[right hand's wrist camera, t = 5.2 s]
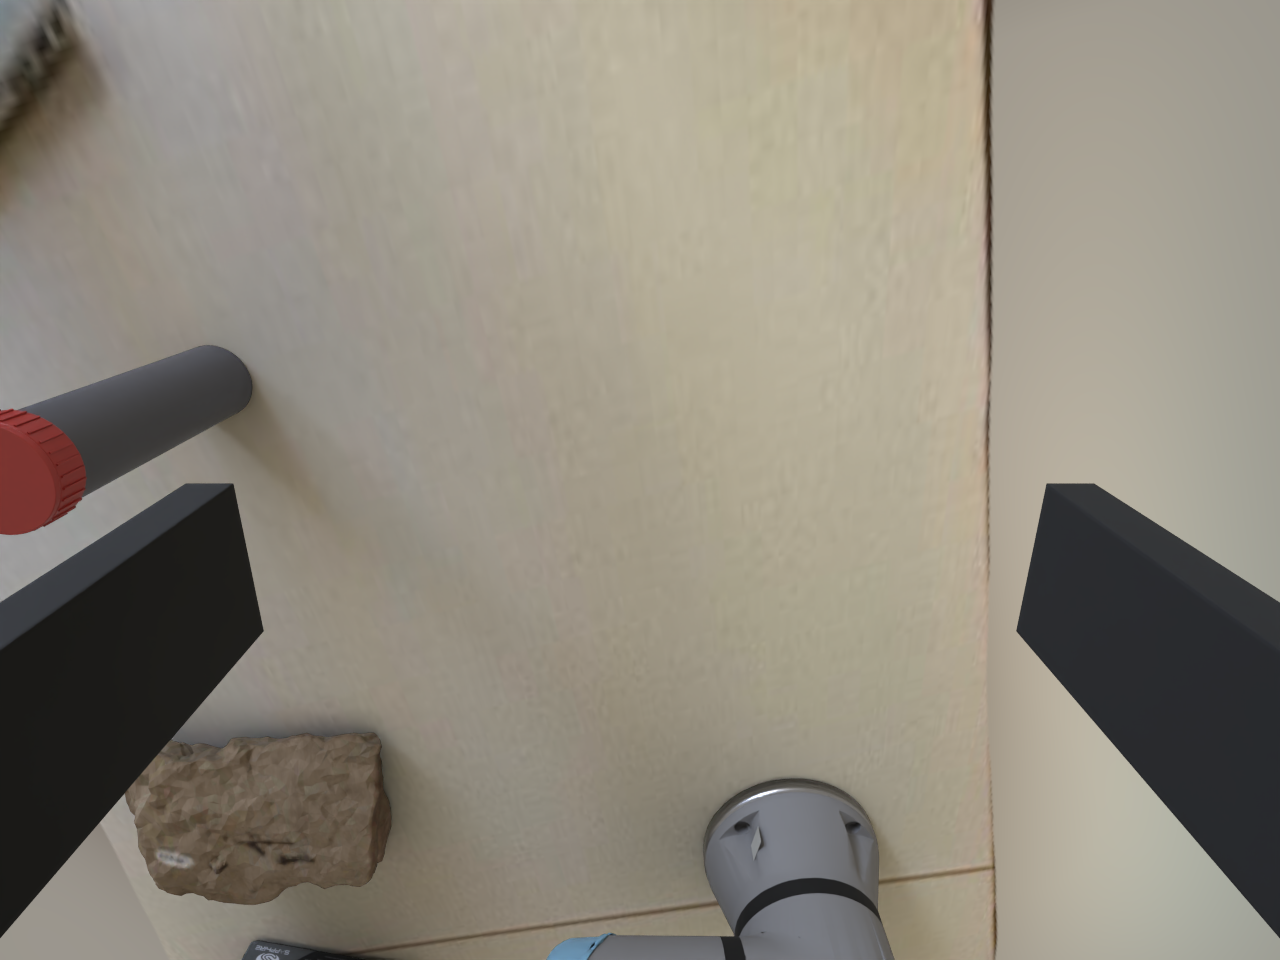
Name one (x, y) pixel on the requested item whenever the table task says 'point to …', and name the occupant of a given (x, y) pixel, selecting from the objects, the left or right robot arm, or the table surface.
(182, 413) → the dark grey bottle
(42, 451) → the lid
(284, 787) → the stone
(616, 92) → the table surface
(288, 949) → the graphics card box
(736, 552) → the table surface
